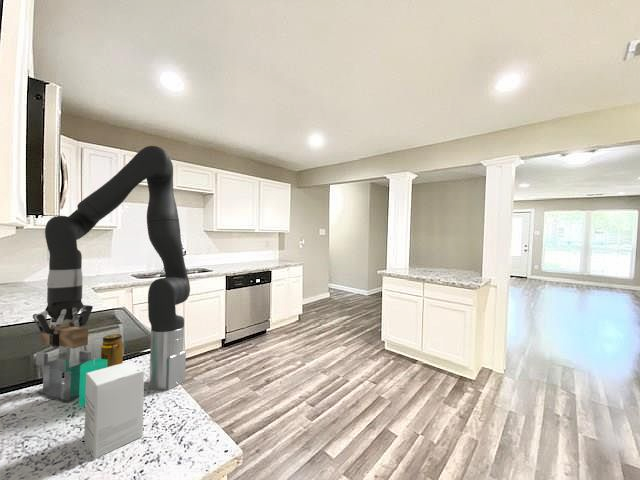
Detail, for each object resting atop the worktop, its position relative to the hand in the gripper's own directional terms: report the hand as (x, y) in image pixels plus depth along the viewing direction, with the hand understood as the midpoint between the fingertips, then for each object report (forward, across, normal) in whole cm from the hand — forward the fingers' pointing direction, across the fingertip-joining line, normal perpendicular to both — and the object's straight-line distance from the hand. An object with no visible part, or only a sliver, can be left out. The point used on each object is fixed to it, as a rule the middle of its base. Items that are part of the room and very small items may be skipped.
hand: (64, 344), depth 80 cm
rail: (0, 0, 0) cm, 0 cm away
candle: (+15, +1, -11) cm, 19 cm away
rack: (+14, 0, +1) cm, 14 cm away
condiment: (+15, +16, +3) cm, 22 cm away
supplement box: (+15, -7, -32) cm, 36 cm away
